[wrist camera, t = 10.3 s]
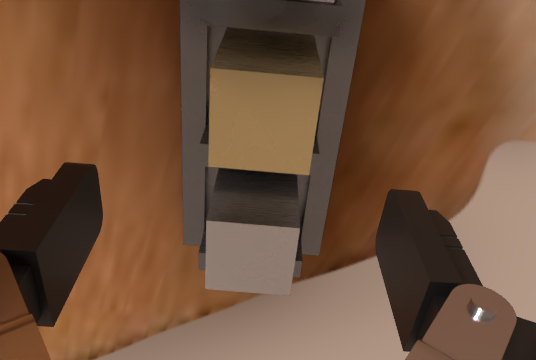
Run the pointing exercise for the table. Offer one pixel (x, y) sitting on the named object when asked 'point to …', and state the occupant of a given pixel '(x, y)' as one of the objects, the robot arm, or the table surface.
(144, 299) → the table surface
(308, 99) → the tan rectangular block
